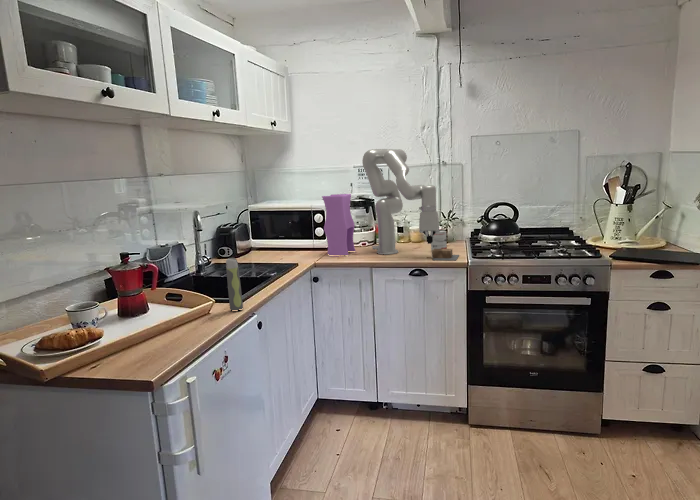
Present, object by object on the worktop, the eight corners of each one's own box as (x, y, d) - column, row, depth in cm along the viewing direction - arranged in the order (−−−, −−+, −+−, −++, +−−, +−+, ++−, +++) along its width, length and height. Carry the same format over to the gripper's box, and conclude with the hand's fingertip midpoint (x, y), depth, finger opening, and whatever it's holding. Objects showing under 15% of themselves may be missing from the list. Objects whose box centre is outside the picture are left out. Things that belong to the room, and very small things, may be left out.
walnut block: (431, 250, 252) (450, 250, 249) (433, 248, 258) (452, 248, 254) (431, 258, 253) (450, 258, 250) (433, 255, 259) (452, 256, 255)
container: (334, 252, 292) (331, 194, 286) (356, 252, 287) (352, 193, 281) (325, 256, 279) (321, 196, 273) (348, 256, 274) (344, 195, 268)
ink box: (446, 250, 275) (445, 230, 273) (447, 252, 270) (446, 231, 268) (430, 251, 276) (430, 230, 274) (431, 252, 271) (430, 232, 269)
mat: (432, 260, 249) (432, 259, 249) (437, 255, 262) (437, 254, 262) (455, 260, 245) (455, 259, 245) (459, 255, 258) (459, 254, 258)
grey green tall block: (228, 310, 180) (222, 258, 177) (240, 307, 183) (235, 256, 179) (233, 313, 176) (227, 260, 173) (245, 310, 179) (240, 257, 175)
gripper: (413, 210, 251) (414, 244, 254) (442, 209, 246) (442, 244, 249) (416, 208, 258) (417, 242, 261) (444, 208, 253) (444, 242, 256)
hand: (429, 243), depth 255 cm, fingers closed
